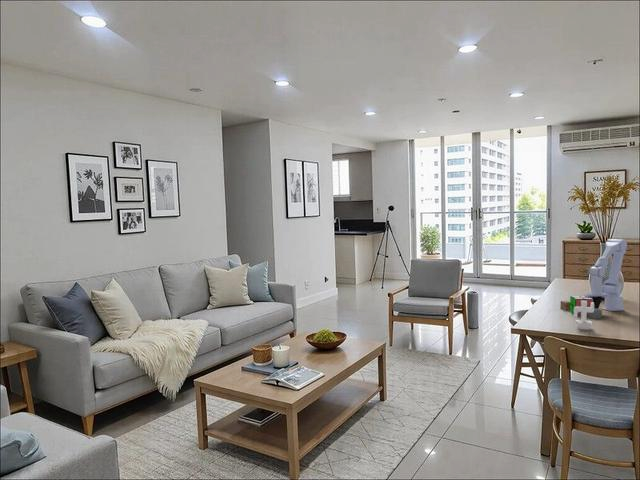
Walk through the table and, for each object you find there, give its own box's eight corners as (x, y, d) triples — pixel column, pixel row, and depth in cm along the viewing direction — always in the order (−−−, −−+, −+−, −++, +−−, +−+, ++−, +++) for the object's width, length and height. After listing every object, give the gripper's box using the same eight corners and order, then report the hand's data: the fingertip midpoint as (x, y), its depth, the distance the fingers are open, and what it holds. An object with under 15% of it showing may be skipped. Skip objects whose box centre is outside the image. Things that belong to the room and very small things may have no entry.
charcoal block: (596, 316, 277) (596, 308, 277) (601, 318, 272) (602, 309, 272) (588, 316, 276) (588, 308, 276) (593, 318, 271) (593, 310, 271)
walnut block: (567, 308, 300) (567, 300, 300) (572, 310, 295) (572, 302, 295) (560, 308, 300) (560, 301, 299) (565, 310, 295) (565, 302, 294)
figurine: (573, 326, 256) (573, 298, 255) (593, 327, 252) (593, 299, 251) (574, 329, 249) (574, 301, 248) (594, 330, 245) (595, 302, 244)
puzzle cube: (593, 315, 279) (593, 299, 278) (575, 315, 281) (575, 298, 280) (587, 312, 288) (587, 295, 288) (569, 311, 290) (570, 295, 290)
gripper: (589, 288, 280) (589, 310, 281) (612, 287, 281) (612, 309, 282) (582, 286, 287) (581, 308, 288) (604, 285, 288) (603, 307, 289)
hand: (596, 308), depth 285 cm, fingers closed
